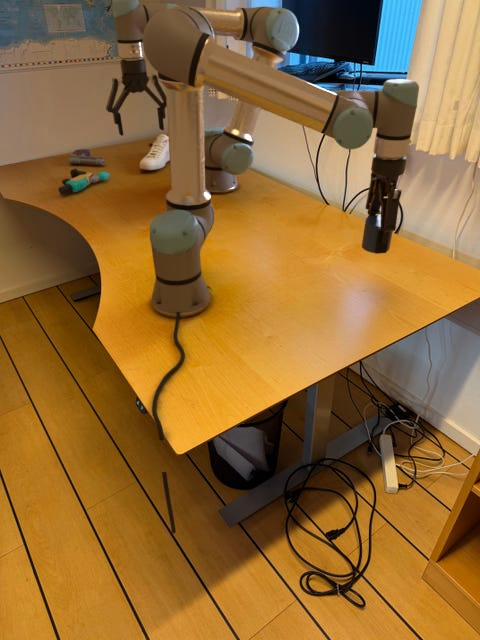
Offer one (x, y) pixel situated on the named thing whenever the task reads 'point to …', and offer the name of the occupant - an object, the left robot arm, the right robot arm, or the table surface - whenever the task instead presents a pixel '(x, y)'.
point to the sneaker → (157, 154)
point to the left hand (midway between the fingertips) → (375, 245)
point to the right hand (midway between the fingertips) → (141, 131)
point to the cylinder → (372, 233)
